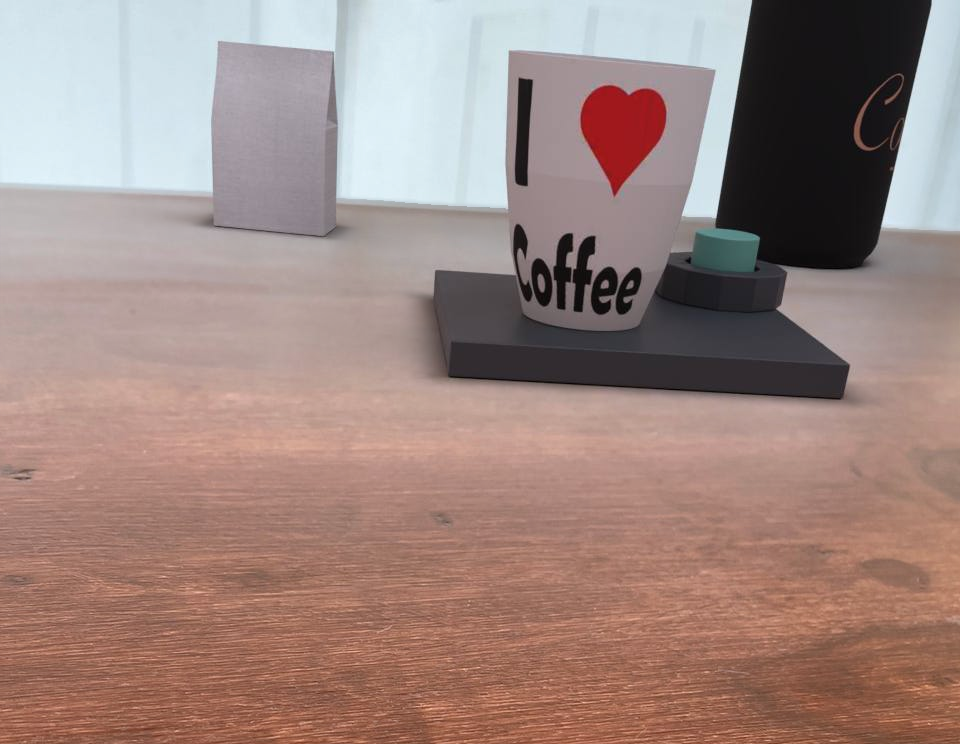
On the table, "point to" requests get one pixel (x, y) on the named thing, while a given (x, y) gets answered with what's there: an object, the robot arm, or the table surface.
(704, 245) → the button
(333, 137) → the grey paper bag
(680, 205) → the cup
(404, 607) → the table surface
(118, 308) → the table surface
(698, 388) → the scale
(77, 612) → the table surface
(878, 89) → the coffee jar
